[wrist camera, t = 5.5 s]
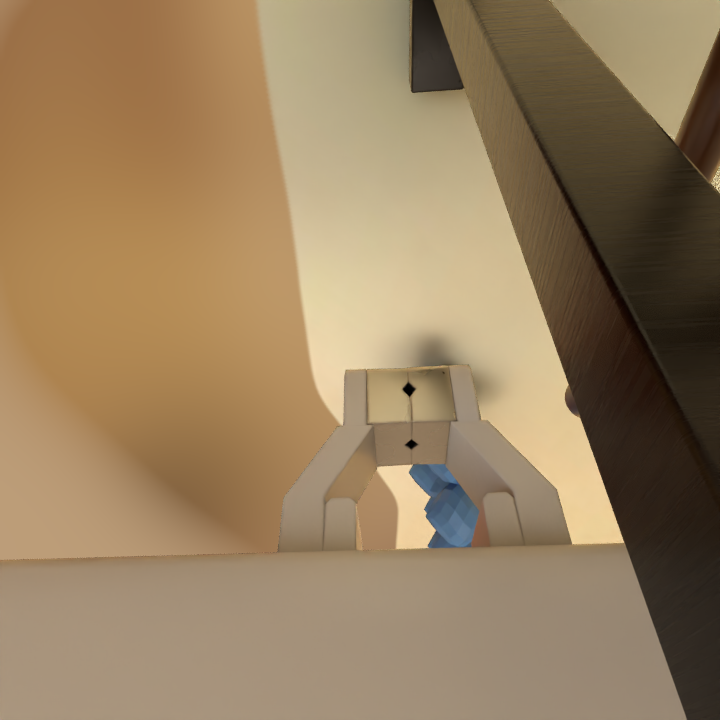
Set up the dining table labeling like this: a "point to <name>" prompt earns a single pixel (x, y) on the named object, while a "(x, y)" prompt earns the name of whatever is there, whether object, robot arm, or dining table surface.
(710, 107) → the hanger
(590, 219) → the rail
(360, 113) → the dining table surface
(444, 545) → the grapes
